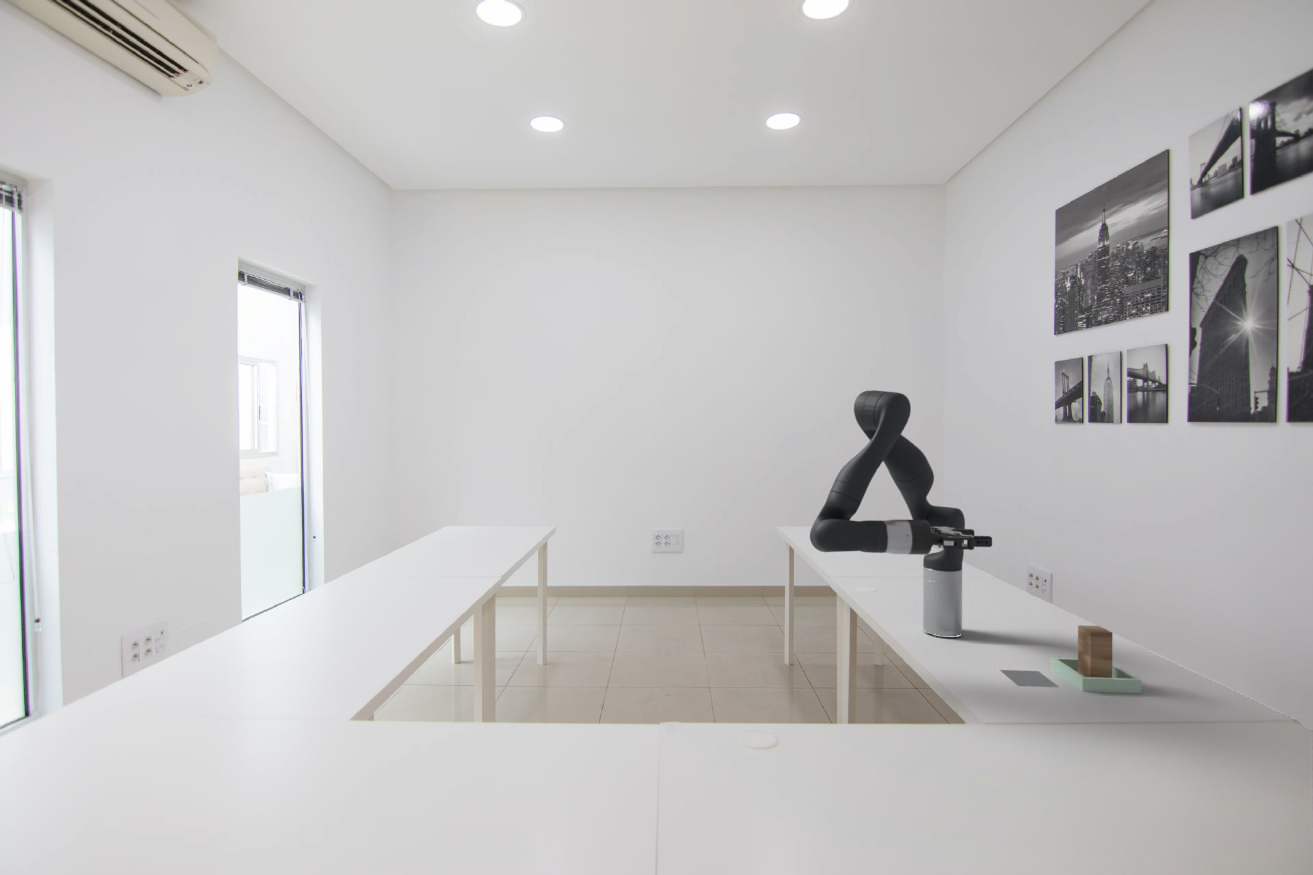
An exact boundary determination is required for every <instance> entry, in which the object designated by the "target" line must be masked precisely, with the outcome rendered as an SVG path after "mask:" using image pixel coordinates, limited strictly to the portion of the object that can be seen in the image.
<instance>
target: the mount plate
mask: <svg viewBox="0 0 1313 875" xmlns="http://www.w3.org/2000/svg"><path fill="white" fill-rule="evenodd" d="M999 671H1000V672H1001V673H1002V674H1004V676H1006V677H1007V678H1008V679H1010V680H1011V681H1012V682H1013V683H1014V684H1015V685H1016V686H1018V687H1044V688H1060V686H1059V685H1057V684H1056V683H1055V682H1053V681H1052V680H1051V679H1049V678H1048V677H1047V676H1045V675H1044V674H1043V673H1041V671H1039V670H1018V669H1017V670H1016V669H1015V670H1014V669H1013V670H1012V669H1000V670H999Z"/></svg>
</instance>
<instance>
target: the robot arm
mask: <svg viewBox="0 0 1313 875" xmlns="http://www.w3.org/2000/svg"><path fill="white" fill-rule="evenodd" d="M853 404H854V405H853V414H854V418H855V421H856V424H858V426H859V428H860V429H861V430H862V432H863V433H864V435H865V436H866V437H867V438H868V439H869V442H868V443H867V444H866V445H865V447H863V448H862V449H861V450H860V451H858V453H857V454H856V455H855V456H853V457H851V458H850V460H849V461H848V462H847V463H846V464H845V465H843V467H842V468H841V469H840V470H839V472H838V474H837V476H836V478H835V480H834V481H833V484H832V486H831V488H830V491H829V493H828V495H827V498H826V501H825V503H824V505H823V507H822V508H821V510H820V512H819V513H818V515H817V516H816V519H815V520H814V523H813V524H812V526H811V528H810V531H809V540H810V543H811V545H812V546H813V547H814V549H816V550H817V551H819V552H822V553H831V552H832V553H838V552H862V553H868V554H869V553H873V554H891V555H922V556H923V555H924V556H923V559H922V560H923V562H922V563H923V565H922V566H923V568H922V570H923V585H922V586H923V591H922V592H923V594H922V596H923V598H922V599H923V604H922V605H923V610H922V612H923V613H922V614H923V615H922V616H923V617H922V620H923V621H922V622H923V623H922V628H923V629H924V630H925V631H926V632H929V633H931V634H936V635H940V636H957V635H960V634H962V635H963V560H964V555H965V554H964V550H969V551H973V550H974V549H975V548H991V547H992V546H993V537H992V536H989V535H975V530H974V529H972V528H966V519H965V515H964V512H963V511H962V510H961V509H959V507H958V508H957V507H951V506H949V507H948V506H940V505H933V504H931V503H930V501H928V499H927V496H928V495H929V493H930V491H931V489H932V488H933V485H934V481H935V475H934V471H933V469H932V467H931V465H930V462H929V461H928V458H927V456H926V455H925V454H924V452H923V451H922V450H921V449H920V448H919V447H917V446H916V445H915V444H914V443H913V442H912V441H910V440H909V439H908V438H907V437H905V436H904V435H903V434H902V433H903V431H904V429H905V428H906V426H907V424H908V422H909V419H910V416H911V408H912V407H911V402H910V400H909V398H908V396H906V395H905V394H904V393H901V392H897V391H886V390H877V389H876V390H865V391H862V392H861V393H859V394H858V395H857V397H856V398H855V401H854V403H853ZM882 463H884V465H885V467H886V468H887V471H888V473H889V475H890V477H891V478H892V480H893V482H894V484H895V485H896V487H897V489H898V490H899V492H900V495H901V497H902V498H903V500H904V502H905V504H906V506H907V508H908V510H909V513H910V516H911V518H912V519H895V518H894V519H888V520H887V519H886V520H873V519H872V520H869V519H867V520H860V521H859V520H851V519H852V518H853V516H854V515H855V514H856V513H857V512H858V510H859V509H860V508H859V507H860V506H861V504H862V501H863V499H864V497H865V494H866V493H867V490H868V488H869V486H870V483H871V481H872V480H873V478H874V476H875V474H876V473H877V471H878V469H879V468H880V466H881V465H882ZM965 541H966V543H965ZM933 546H937V548H940V549H941V548H942V549H941V550H940V551H937V552H931V551H932V547H933Z"/></svg>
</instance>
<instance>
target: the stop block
mask: <svg viewBox="0 0 1313 875" xmlns="http://www.w3.org/2000/svg"><path fill="white" fill-rule="evenodd" d="M1077 658H1078V671H1077V672H1078V673H1079V674H1081V675H1082V676H1084V677H1101V678H1112V663H1113V631H1110V630H1108V629H1106V628H1105V627H1102V626H1100V625H1081V624H1080V625H1077Z"/></svg>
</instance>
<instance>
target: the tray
mask: <svg viewBox="0 0 1313 875" xmlns="http://www.w3.org/2000/svg"><path fill="white" fill-rule="evenodd" d="M1050 667H1051V670H1052V671H1053V672H1055V673H1056V674H1058V675H1059V676H1060V677H1062V678H1063V679H1065V680H1066V681H1067V682H1069V683H1070V684H1071V685H1073V686H1075V687H1076V688H1077V689H1079V690H1080V691H1082V692H1095V693H1098V692H1100V693H1103V692H1104V693H1121V694H1122V693H1128V694H1142V680H1141V679H1140V678H1138V677H1137V676H1135V675H1133V674H1131V673H1130V672H1128V671H1126V670H1124V669H1123V668H1121V667H1119V666H1118V665H1116V664H1115V663H1113V662H1112V678H1101V677H1084V676H1082V675H1081V674H1079V673H1078V657H1076V658H1075V657H1051V665H1050Z"/></svg>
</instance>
